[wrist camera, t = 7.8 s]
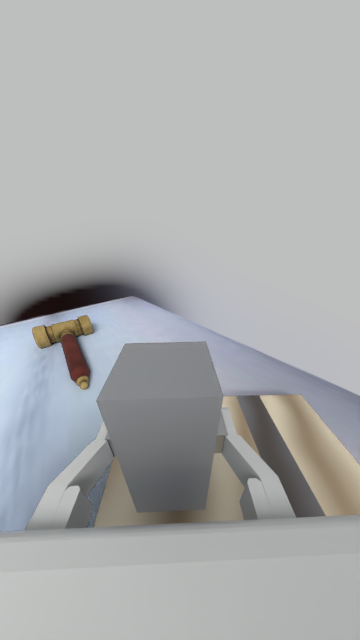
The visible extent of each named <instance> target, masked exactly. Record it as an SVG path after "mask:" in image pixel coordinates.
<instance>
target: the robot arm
mask: <svg viewBox="0 0 360 640" xmlns="http://www.w3.org/2000/svg"><path fill="white" fill-rule="evenodd" d="M214 453H222V455H223V456H224V458H225V459H226V461H227V462H228V464H229V465H230V467H231V468H232V470H233V471H234V473H235V474H236V476H237V477H238V479H239V480H240V482H241V483H242V485H243V486H244V488H245V489H244V491H243V494H242V496H241V499H240V501H239V502H240V506H241V511H242V515H243V519H244V520H235V521H214V522H193V523H173V524H152V525H131V526H110V527H89V528H87V527H88V524H89V520H90V517H91V514H92V510H93V507H92V504H91V503H90V501H89V500H88V499H87V496H88V495H89V493H90V492H91V491H92V489H93V488H94V486H95V485H96V483H97V482H98V481H99V479H100V478H101V476H102V475H103V474H104V472H105V471H106V469H107V468H108V466H109V465H110V464H111V462H112V461H113V459H114V457H117V456H116V453H115V451H114V448H113V445H112V442H111V440H110V437H109V434H108V431H107V429H106V426H105V423H104V420H103V422H102V425H101V427H100V430H99V432H98V434H97V437H96V439H95V440H94V441H92V442H91V443H90V444H89V445H88V446H87V447H86V448H85V449H84V450H83V451H82V452H81V453H80V454H79V455H78V456H77V457H76V458H75V459H74V460H73V461H72V462H71V463H70V464H69V465H68V466H67V467H66V468H65V469H64V470H63V471H62V472H61V473H60V474H59V475H58V476H57V477H56V478H55V479H54V480H53V481H52V482H51V483H50V484H49V485H48V487H47V489H46V491H45V493H44V495H43V497H42V498H41V500H40V502H39V504H38V506H37V508H36V510H35V512H34V514H33V515H32V517H31V519H30V521H29V523H28V525H27V527H26V529H25V530H24V531H6V532H0V640H360V515H339V516H319V517H298V518H296V516H295V513H294V511H293V509H292V507H291V504H290V502H289V500H288V498H287V495H286V493H285V491H284V489H283V486H282V484H281V482H280V480H279V477H278V476H277V475H276V474H275V473H274V471H273V470H272V469H271V468H270V467H269V466H268V465H267V464H266V463H265V462H264V461H263V460H262V459H261V457H260V456H259V455H258V454H257V453H256V452H255V451H254V450H253V449H252V448H251V447H250V446H249V445H248V443H247V442H246V441H245V440H244V439H243V438H242V437H241V436H240V435H237V432H236V429H235V426H234V423H233V420H232V417H231V414H230V411H229V409H228V407H222V408H221V414H220V420H219V426H218V433H217V439H216V445H215V451H214Z"/></svg>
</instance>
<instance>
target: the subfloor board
mask: <svg viewBox="0 0 360 640" xmlns="http://www.w3.org/2000/svg"><path fill="white" fill-rule="evenodd" d="M222 407H228V409H229V411H230V414H231V417H232V420H233V423H234V426H235V429H236V432H237V435H240V436H241V437H242V438H243V439H244V440H245V441H246V442H247V443H248V445H249V446H250V447H251V448H252V449H253V450H254V451H255V452H256V453H257V454H258V455H259V456H260V457H261V459H262V460H263V461H264V462H265V463H266V464H267V465H268V466H269V467H270V468H271V469H272V470H273V471H274V473H275V474H276V475H277V476H278V477H279V480H280V482H281V484H282V486H283V489H284V491H285V493H286V495H287V498H288V500H289V502H290V504H291V507H292V509H293V511H294V513H295V516H296V518H298V517H319V516H339V515H360V465H359V464H358V462H357V461H356V460H355V459H354V458H353V456H352V455H351V454H350V453H349V452H348V450H347V449H346V448H345V447H344V446H343V444H342V443H341V442H340V441H339V440H338V438H337V437H336V436H335V435H334V434H333V433H332V431H331V430H330V429H329V428H328V427H327V425H326V424H325V423H324V422H323V421H322V419H321V418H320V417H319V416H318V415H317V413H316V412H315V411H314V410H313V409H312V407H311V406H310V405H309V404H308V403H307V402H306V400H305V399H304V398H303V397H302V396H301V394H298V395H259V396H223V402H222ZM244 489H245V488H244V486H243V485H242V483H241V482H240V480H239V479H238V477H237V476H236V474H235V473H234V471H233V470H232V468H231V467H230V465H229V464H228V462H227V461H226V459H225V458H224V456H223V455H222V453H214V457H213V463H212V469H211V475H210V482H209V488H208V494H207V500H206V506H205V510H186V511H165V512H144V513H137V511H136V508H135V506H134V503H133V500H132V497H131V495H130V492H129V489H128V486H127V484H126V481H125V478H124V475H123V473H122V470H121V467H120V464H119V462H118V459H117V457H114V459H113V461H112V465H111V468H110V472H109V475H108V479H107V482H106V485H105V489H104V492H103V496H102V499H101V503H100V506H99V510H98V513H97V517H96V520H95V524H94V527H110V526H131V525H152V524H173V523H193V522H214V521H235V520H244V519H243V515H242V511H241V506H240V502H239V501H240V499H241V496H242V494H243V491H244Z"/></svg>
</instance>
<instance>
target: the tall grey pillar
mask: <svg viewBox="0 0 360 640" xmlns="http://www.w3.org/2000/svg"><path fill="white" fill-rule="evenodd" d="M96 401H97V404H98V406H99V409H100V412H101V415H102V418H103V420H104V423H105V426H106V429H107V431H108V434H109V437H110V440H111V442H112V445H113V448H114V451H115V453H116V456H117V459H118V462H119V464H120V467H121V470H122V473H123V475H124V478H125V481H126V484H127V486H128V489H129V492H130V495H131V497H132V500H133V503H134V506H135V508H136V511H137V513H144V512H165V511H186V510H205V506H206V500H207V494H208V488H209V482H210V475H211V469H212V463H213V457H214V451H215V445H216V439H217V433H218V426H219V420H220V414H221V408H222V402H223V394H222V391H221V387H220V384H219V381H218V378H217V375H216V372H215V369H214V366H213V362H212V359H211V356H210V353H209V350H208V347H207V344H206V342H173V343H132V344H125V345H124V347H123V349H122V351H121V353H120V355H119V357H118V359H117V361H116V363H115V365H114V367H113V369H112V371H111V373H110V375H109V377H108V379H107V381H106V382H105V384H104V386H103V388H102V390H101V392H100V394H99V396H98V398H97V400H96Z"/></svg>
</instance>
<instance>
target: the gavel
mask: <svg viewBox="0 0 360 640" xmlns="http://www.w3.org/2000/svg"><path fill="white" fill-rule="evenodd" d="M32 333H33V336H34V339H35V341H36V343H37V345H38V347H39V348H45V347H48V346H51V345H52V343H54V342H60V341H61V343H62V347H63V351H64V354H65V358H66V362H67V366H68V369H69V373H70V377H71V379H72V380H73V381H74V382H76V383H77V385H78V386H80V388H81V389H83V390H84V389H87V387H88V381H89V368H88V366H87V364H86V361H85V359H84V356H83V354H82V352H81V349H80V347H79V344H78V342H77V340H76V338H75V337H77V336H79V335H81V334H84V335H88V334H91V333H93V328H92V325H91V322H90V319H89V317H88V316H87V315H84V316H80V317H78V319H76V320H69V321H65V322H61V323H57V324H53V325H51V326H48V327H45V325H42V326H38V327H34V328H33V329H32Z"/></svg>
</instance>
